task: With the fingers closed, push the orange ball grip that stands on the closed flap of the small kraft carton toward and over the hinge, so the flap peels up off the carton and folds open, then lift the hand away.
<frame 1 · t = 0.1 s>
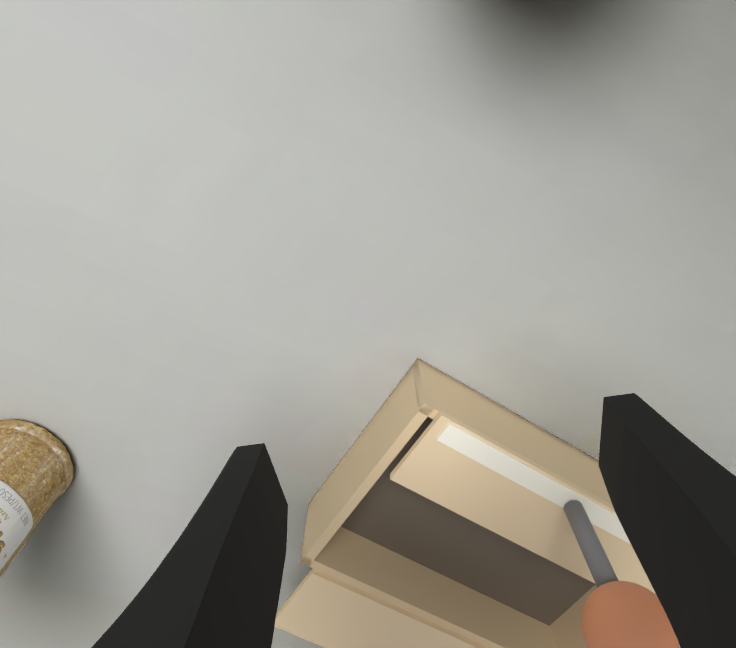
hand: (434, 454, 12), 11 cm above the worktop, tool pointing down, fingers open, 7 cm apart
flap: (588, 584, 19), point 7 cm above the worktop, hinge at 0.0°
carton: (489, 503, 26), on the worktop
sprinkles bottle: (27, 455, 26), on the worktop
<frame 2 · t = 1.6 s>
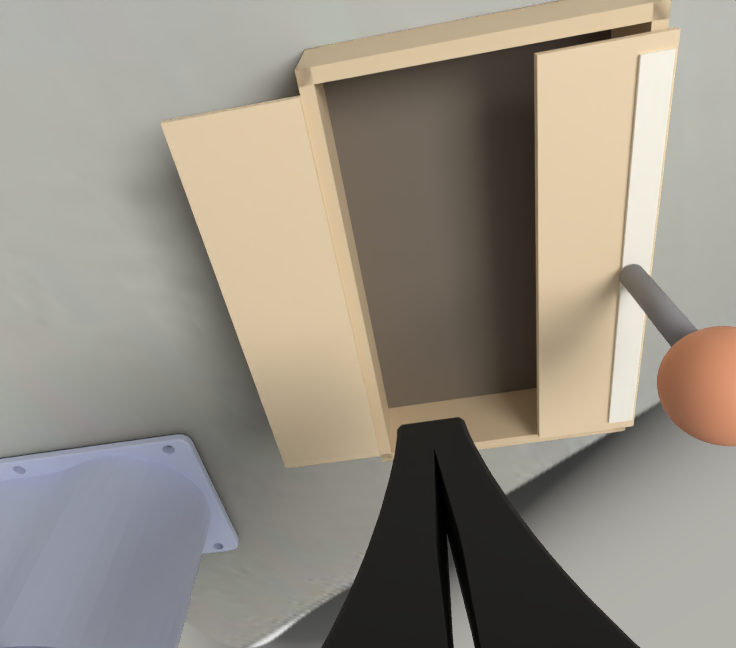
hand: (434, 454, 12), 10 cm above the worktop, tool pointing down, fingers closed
flap: (650, 335, 14), point 7 cm above the worktop, hinge at 0.0°
carton: (473, 238, 20), on the worktop
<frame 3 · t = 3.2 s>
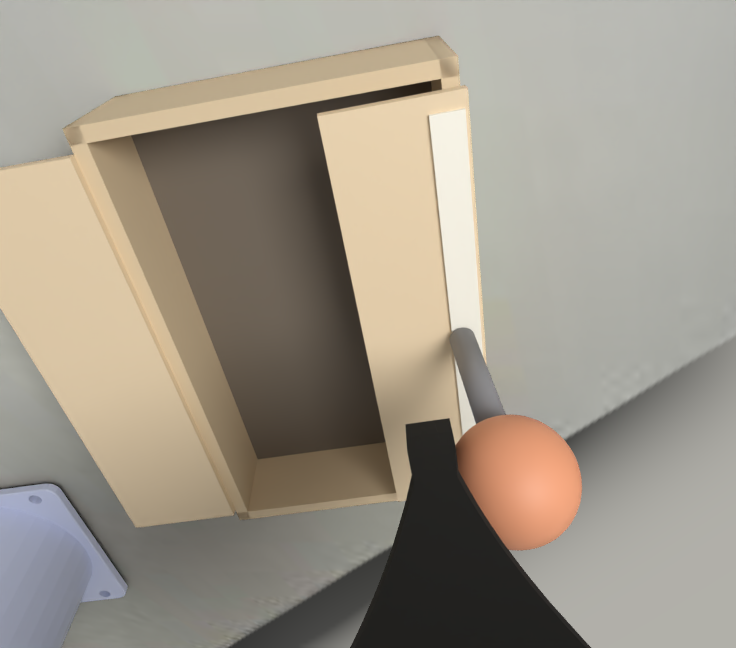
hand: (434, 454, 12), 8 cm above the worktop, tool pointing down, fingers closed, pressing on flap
flap: (458, 415, 13), point 7 cm above the worktop, hinge at 2.6°, touching gripper
carton: (326, 288, 19), on the worktop
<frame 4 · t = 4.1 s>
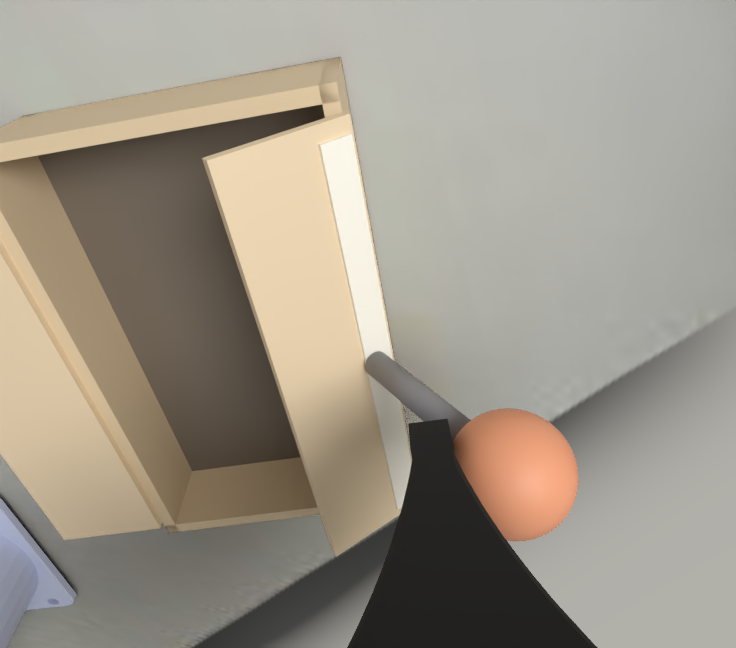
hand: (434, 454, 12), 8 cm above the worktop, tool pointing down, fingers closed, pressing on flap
flap: (421, 433, 13), point 7 cm above the worktop, hinge at 32.0°, touching gripper
carton: (250, 303, 19), on the worktop
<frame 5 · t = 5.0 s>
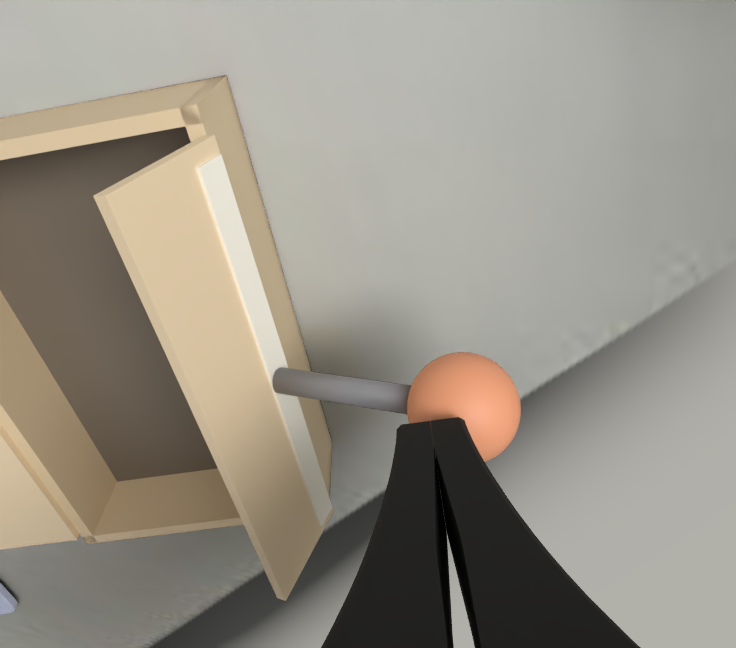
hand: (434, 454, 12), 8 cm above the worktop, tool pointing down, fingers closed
flap: (369, 414, 14), point 6 cm above the worktop, hinge at 66.2°
carton: (161, 316, 19), on the worktop
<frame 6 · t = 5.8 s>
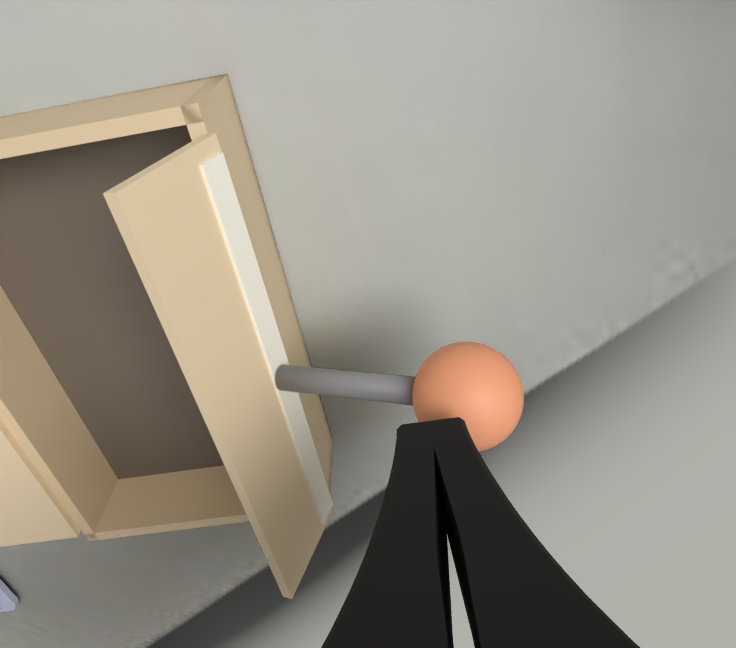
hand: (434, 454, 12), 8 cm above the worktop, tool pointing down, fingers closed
flap: (375, 406, 14), point 6 cm above the worktop, hinge at 69.5°
carton: (162, 314, 20), on the worktop
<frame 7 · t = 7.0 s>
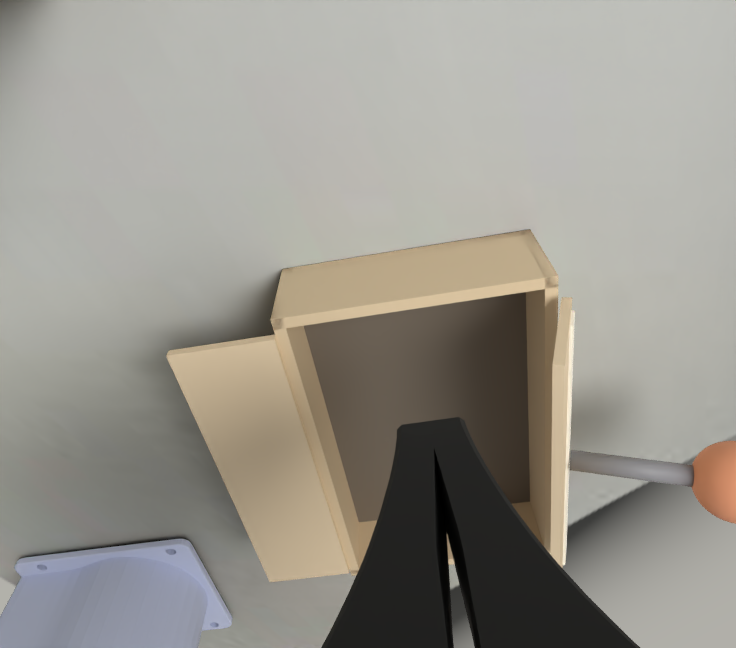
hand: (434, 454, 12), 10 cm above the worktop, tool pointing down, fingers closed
flap: (664, 488, 19), point 6 cm above the worktop, hinge at 69.7°
carton: (425, 395, 24), on the worktop
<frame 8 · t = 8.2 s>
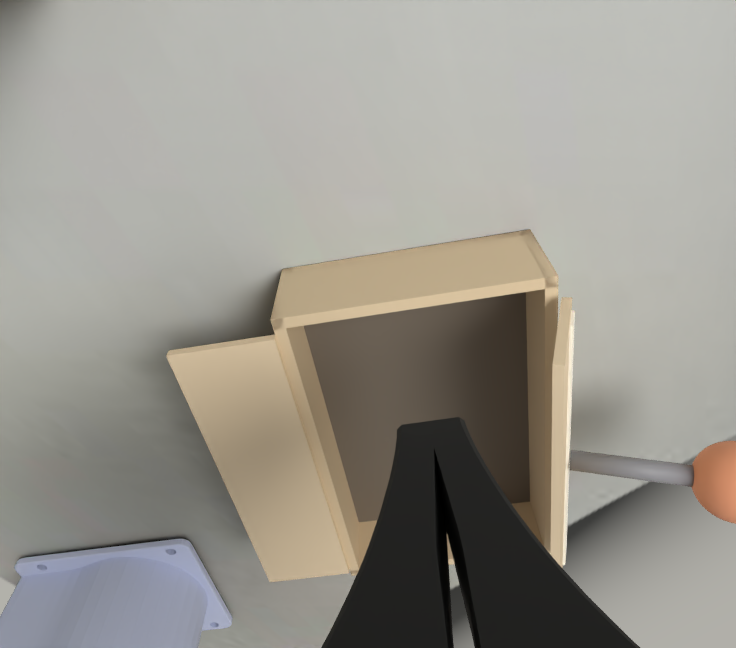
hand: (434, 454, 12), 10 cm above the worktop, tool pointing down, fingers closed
flap: (664, 488, 19), point 6 cm above the worktop, hinge at 69.7°
carton: (425, 395, 24), on the worktop
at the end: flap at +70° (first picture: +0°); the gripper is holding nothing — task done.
